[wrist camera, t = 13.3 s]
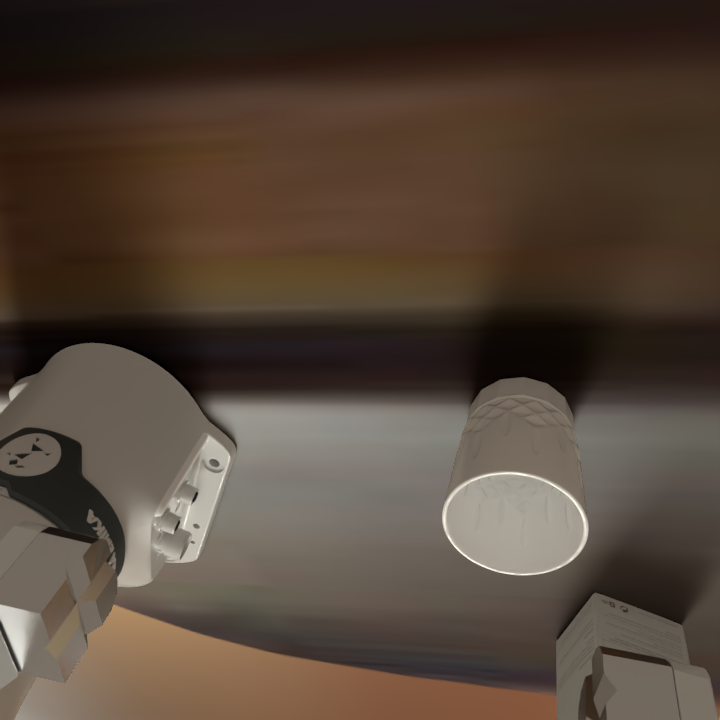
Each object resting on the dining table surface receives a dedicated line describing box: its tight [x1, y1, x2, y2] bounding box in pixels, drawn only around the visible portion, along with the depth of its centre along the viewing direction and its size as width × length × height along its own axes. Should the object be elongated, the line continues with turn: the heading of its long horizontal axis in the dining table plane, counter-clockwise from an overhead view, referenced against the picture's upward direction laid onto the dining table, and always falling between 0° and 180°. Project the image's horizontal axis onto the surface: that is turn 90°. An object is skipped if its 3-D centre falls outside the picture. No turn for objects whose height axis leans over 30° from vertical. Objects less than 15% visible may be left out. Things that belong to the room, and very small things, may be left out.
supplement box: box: [556, 593, 690, 720], centre depth 50 cm, size 7×7×13 cm
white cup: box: [442, 377, 589, 575], centre depth 42 cm, size 8×8×10 cm
